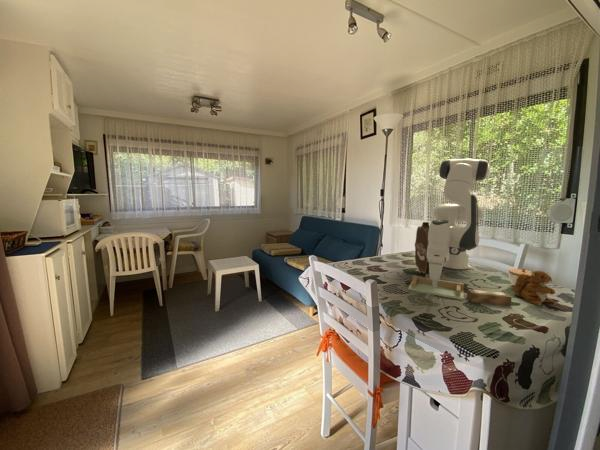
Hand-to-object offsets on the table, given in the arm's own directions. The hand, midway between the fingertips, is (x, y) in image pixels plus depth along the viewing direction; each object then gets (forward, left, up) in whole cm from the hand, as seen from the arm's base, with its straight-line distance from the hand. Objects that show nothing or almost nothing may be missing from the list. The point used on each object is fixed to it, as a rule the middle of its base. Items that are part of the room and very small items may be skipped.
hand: (435, 284), depth 115 cm
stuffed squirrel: (-14, +35, -4) cm, 38 cm away
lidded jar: (-29, +35, -4) cm, 46 cm away
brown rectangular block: (-1, +20, -4) cm, 20 cm away
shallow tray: (-1, 0, -4) cm, 4 cm away
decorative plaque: (-22, -8, -4) cm, 24 cm away
